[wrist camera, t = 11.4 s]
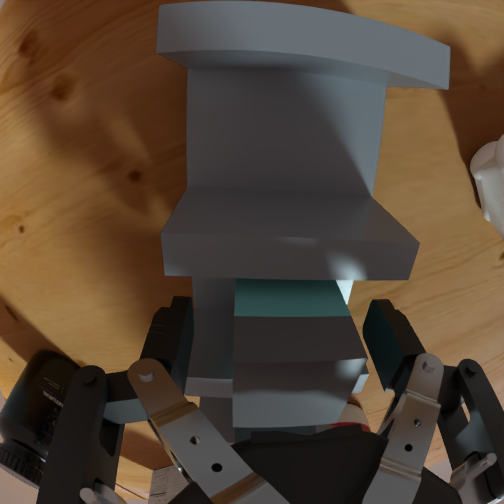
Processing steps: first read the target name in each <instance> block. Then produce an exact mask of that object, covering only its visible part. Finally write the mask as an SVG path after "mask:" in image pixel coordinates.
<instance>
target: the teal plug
mask: <svg viewBox="0 0 504 504" xmlns="http://www.w3.org/2000/svg"><path fill="white" fill-rule="evenodd" d="M367 359H368V357H367V354H366V352H365V349H364V346H363V344H362V341H361V339H360V336H359V334H358V331H357V329H356V326H355V324H354V322H353V319H352V317H351V314H350V312H349V309H348V307H347V305H346V302H345V300H344V298H343V295H342V293H341V291H340V288H339V286H338V284H337V281H336V280H286V279H244V278H236V284H235V309H234V336H233V427H243V428H265V427H294V426H310V425H322V424H332V423H336V422H337V420H338V419H339V417H340V415H341V413H342V411H343V409H344V407H345V405H346V403H347V401H348V399H349V397H350V395H351V393H352V391H353V389H354V387H355V385H356V383H357V381H358V379H359V377H360V375H361V372H362V370H363V368H364V366H365V364H366V361H367Z"/></svg>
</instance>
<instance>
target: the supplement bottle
mask: <svg viewBox="0 0 504 504" xmlns="http://www.w3.org/2000/svg"><path fill="white" fill-rule="evenodd" d="M77 370H79V368H78V367H77V366H76V365H75V364H74V363H72V362H71V361H69V360H68V359H66V358H65V357H63V356H61V355H59V354H56V353H54V352H50V351H39V352H36V353H35V354H33V356H32V357H31V359H30V360H29V362H28V363H27V365H26V367H25V368H24V370H23V372H22V373H21V375H20V377H19V379H18V381H17V382H16V384H15V386H14V388H13V390H12V391H11V393H10V395H9V397H8V399H7V401H6V403H5V405H4V407H3V409H2V411H1V412H0V434H1V436H2V438H3V443H0V467H1V468H3V469H4V470H5V471H6V472H8V473H9V474H11V475H12V476H14V477H16V478H18V479H19V480H21V481H22V482H24V483H26V484H28V485H30V486H32V487H34V488H36V489H38V490H39V487H40V483H41V479H42V474H43V470H44V466H45V462H46V458H47V455H48V451H49V448H50V444H51V441H52V437H53V434H54V431H55V427H56V424H57V421H58V418H59V415H60V412H61V409H62V406H63V403H64V400H65V397H66V394H67V392H68V389H69V386H70V383H71V381H72V378H73V376H74V374H75V373H76V371H77Z"/></svg>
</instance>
